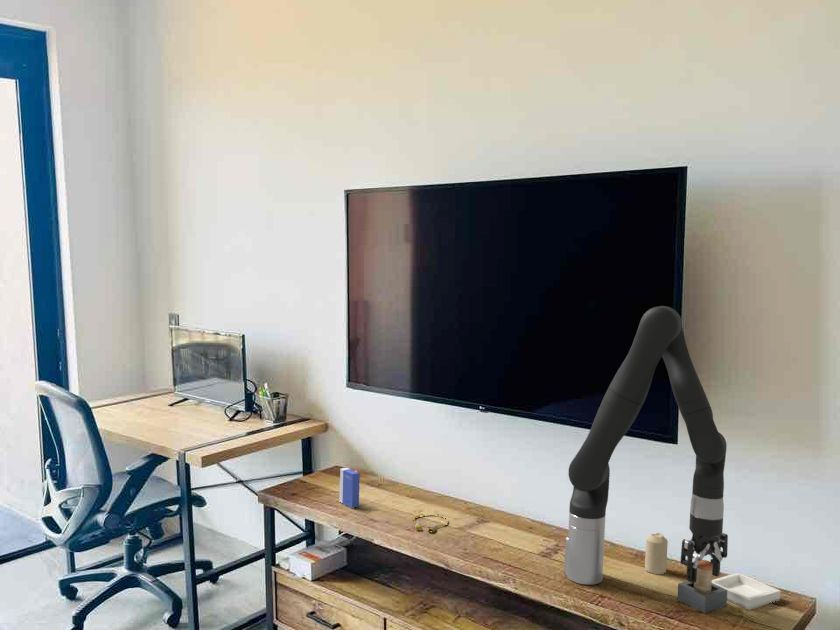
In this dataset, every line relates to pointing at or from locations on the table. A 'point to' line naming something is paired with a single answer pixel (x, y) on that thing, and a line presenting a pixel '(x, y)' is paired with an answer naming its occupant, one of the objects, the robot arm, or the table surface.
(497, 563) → the table surface
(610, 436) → the robot arm
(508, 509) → the table surface
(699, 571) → the pin
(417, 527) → the beaded necklace
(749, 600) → the tray
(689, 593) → the socket block
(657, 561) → the candle
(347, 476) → the walkman
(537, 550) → the table surface
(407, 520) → the table surface
